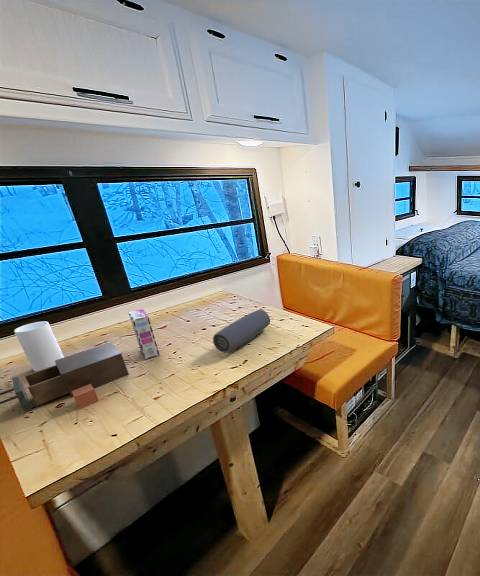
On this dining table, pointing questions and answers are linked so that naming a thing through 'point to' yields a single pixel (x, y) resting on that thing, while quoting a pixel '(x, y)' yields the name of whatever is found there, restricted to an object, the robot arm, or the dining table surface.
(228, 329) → the bluetooth speaker
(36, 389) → the drawer
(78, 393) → the block
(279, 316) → the dining table surface
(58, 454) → the dining table surface
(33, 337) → the cup
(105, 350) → the cabinet
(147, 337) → the candy bar box
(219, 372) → the dining table surface
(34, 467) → the dining table surface
